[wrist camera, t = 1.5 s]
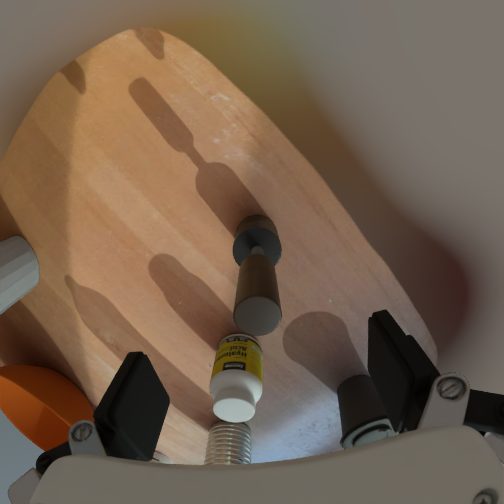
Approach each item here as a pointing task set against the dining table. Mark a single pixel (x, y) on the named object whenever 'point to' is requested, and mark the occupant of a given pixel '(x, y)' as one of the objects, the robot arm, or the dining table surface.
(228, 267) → the dining table surface
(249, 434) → the water bottle
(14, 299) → the grey utensil holder
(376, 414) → the coffee cup
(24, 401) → the bowl
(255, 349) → the supplement bottle
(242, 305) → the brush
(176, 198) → the dining table surface
